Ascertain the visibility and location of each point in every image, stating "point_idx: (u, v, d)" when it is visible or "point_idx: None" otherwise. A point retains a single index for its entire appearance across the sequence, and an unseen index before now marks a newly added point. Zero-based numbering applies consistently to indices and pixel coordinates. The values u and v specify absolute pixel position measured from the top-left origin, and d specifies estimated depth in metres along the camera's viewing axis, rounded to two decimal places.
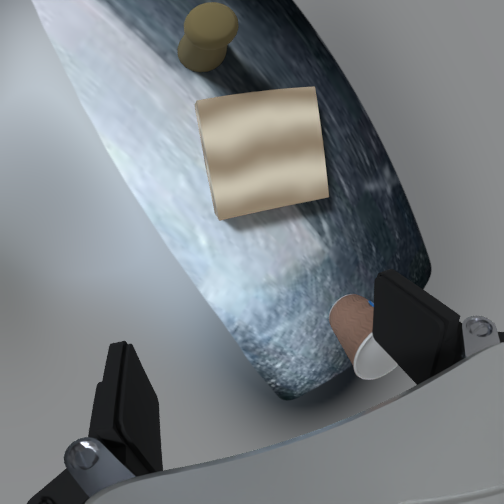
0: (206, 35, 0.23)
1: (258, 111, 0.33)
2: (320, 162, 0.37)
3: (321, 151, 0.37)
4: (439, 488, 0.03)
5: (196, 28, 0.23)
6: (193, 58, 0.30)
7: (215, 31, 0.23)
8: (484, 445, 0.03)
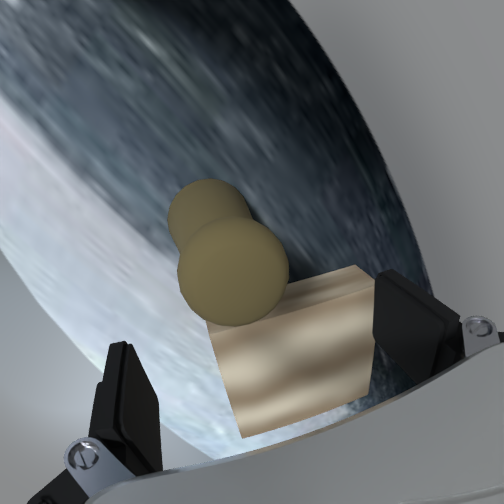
0: (228, 321, 0.14)
1: (298, 334, 0.24)
2: (366, 368, 0.28)
3: (370, 357, 0.28)
4: (439, 489, 0.03)
5: (207, 310, 0.14)
6: None
7: (246, 313, 0.14)
8: (484, 445, 0.03)
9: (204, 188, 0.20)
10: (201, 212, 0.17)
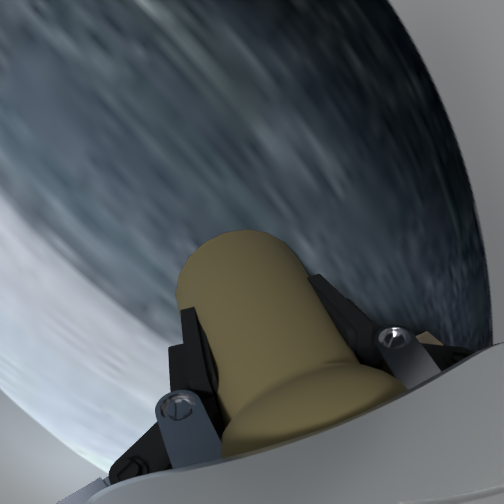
0: None
1: None
2: None
3: None
4: (439, 489, 0.03)
5: None
6: None
7: None
8: (484, 445, 0.03)
9: (240, 255, 0.12)
10: (249, 324, 0.09)
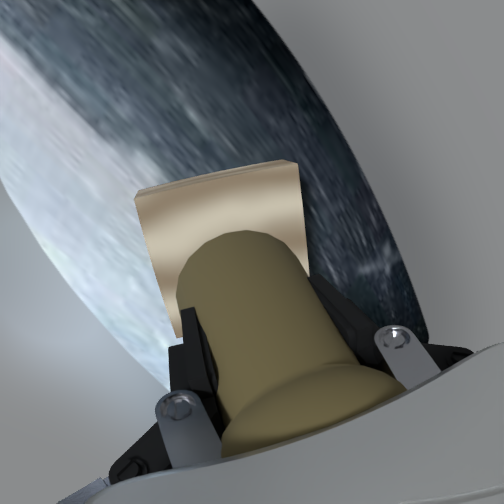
0: None
1: (217, 207, 0.26)
2: (301, 263, 0.30)
3: (303, 250, 0.30)
4: (439, 489, 0.03)
5: None
6: None
7: None
8: (484, 445, 0.03)
9: (240, 256, 0.12)
10: (249, 325, 0.09)
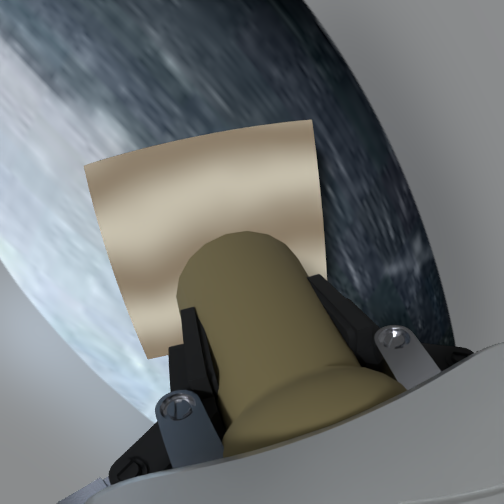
0: None
1: (199, 176, 0.18)
2: (317, 260, 0.22)
3: (320, 241, 0.21)
4: (439, 489, 0.03)
5: None
6: None
7: None
8: (484, 445, 0.03)
9: (241, 257, 0.12)
10: (250, 326, 0.09)
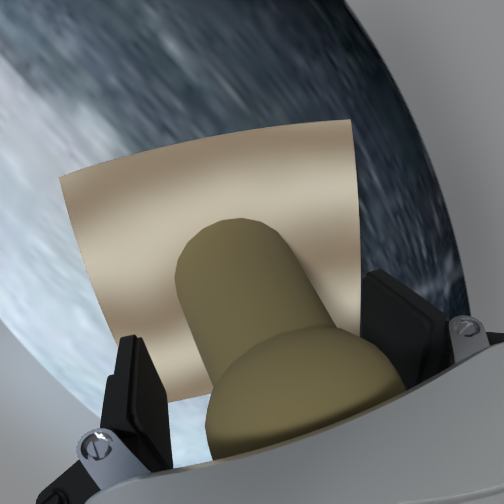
0: None
1: (209, 190, 0.14)
2: (351, 291, 0.18)
3: (355, 269, 0.17)
4: (439, 488, 0.03)
5: None
6: None
7: None
8: (484, 445, 0.03)
9: (235, 239, 0.13)
10: (240, 295, 0.10)
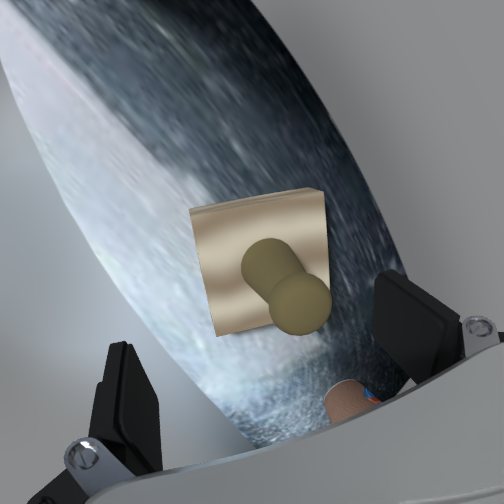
0: (298, 332, 0.24)
1: (259, 225, 0.32)
2: (324, 274, 0.36)
3: (325, 263, 0.36)
4: (439, 489, 0.03)
5: (288, 325, 0.24)
6: None
7: (308, 327, 0.24)
8: (484, 445, 0.03)
9: (271, 247, 0.31)
10: (276, 266, 0.28)
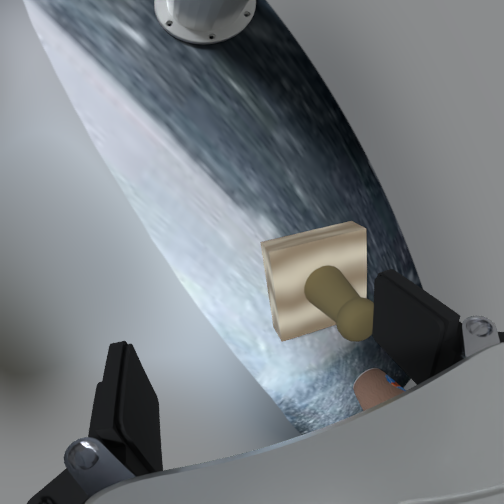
0: (357, 339, 0.34)
1: (319, 256, 0.41)
2: (362, 289, 0.45)
3: (364, 281, 0.45)
4: (439, 489, 0.03)
5: (352, 335, 0.33)
6: (326, 314, 0.40)
7: (364, 335, 0.34)
8: (484, 445, 0.03)
9: (330, 274, 0.40)
10: (338, 291, 0.37)
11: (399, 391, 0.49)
